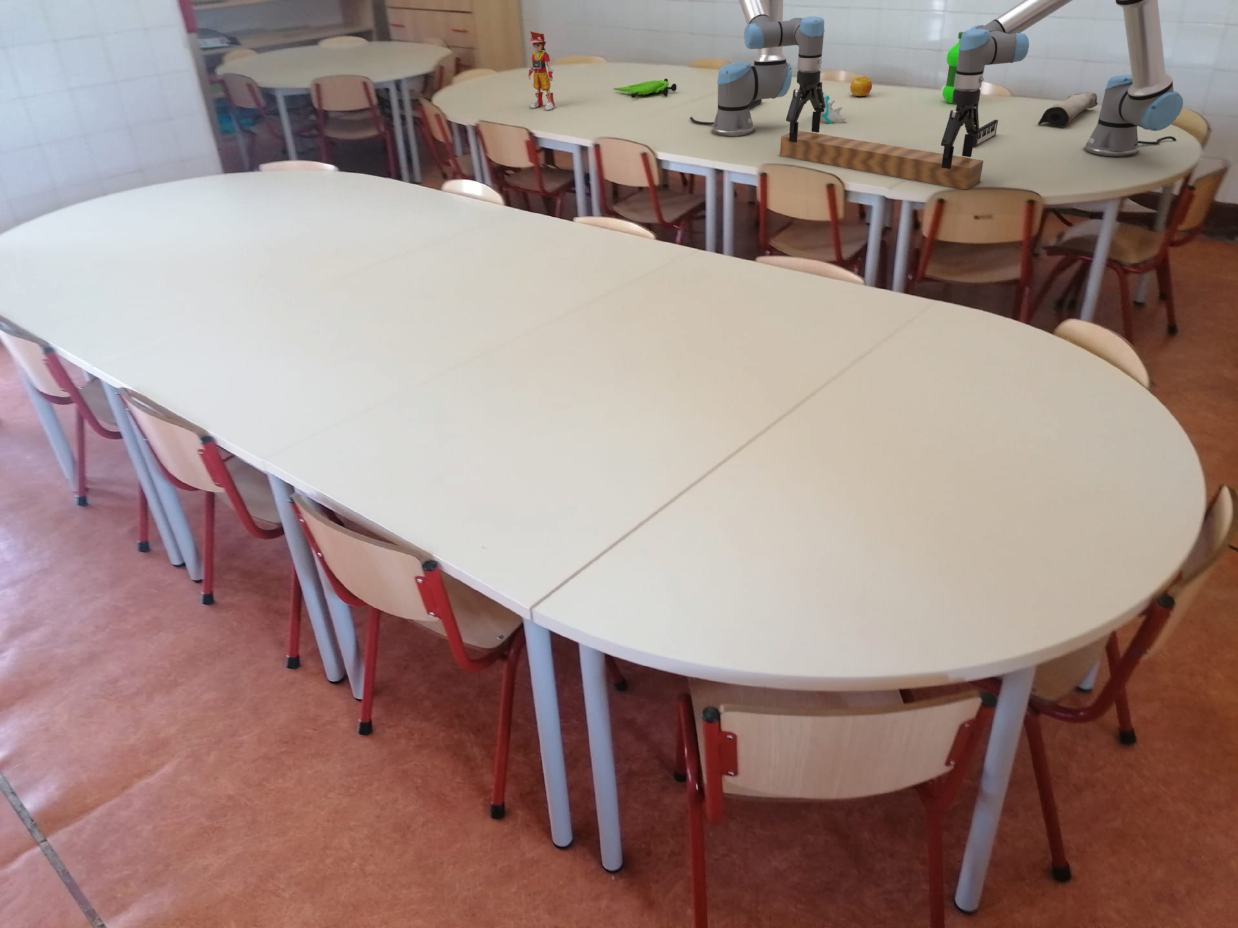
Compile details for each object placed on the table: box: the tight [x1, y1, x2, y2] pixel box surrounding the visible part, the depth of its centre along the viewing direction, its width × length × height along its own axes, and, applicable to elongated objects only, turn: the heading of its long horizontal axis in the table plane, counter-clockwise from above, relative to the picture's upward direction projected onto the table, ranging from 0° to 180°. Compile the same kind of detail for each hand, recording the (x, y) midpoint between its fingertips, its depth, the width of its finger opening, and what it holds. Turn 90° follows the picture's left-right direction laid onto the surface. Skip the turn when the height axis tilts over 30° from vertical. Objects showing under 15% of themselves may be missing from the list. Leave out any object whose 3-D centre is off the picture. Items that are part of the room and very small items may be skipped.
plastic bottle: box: [942, 31, 964, 104], centre depth 348 cm, size 10×10×25 cm
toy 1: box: [527, 31, 556, 111], centre depth 374 cm, size 12×9×30 cm
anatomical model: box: [821, 91, 847, 124], centre depth 342 cm, size 15×10×10 cm
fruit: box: [849, 76, 873, 97], centre depth 369 cm, size 8×8×8 cm
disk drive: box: [749, 99, 763, 110], centre depth 366 cm, size 10×3×15 cm
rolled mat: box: [1037, 91, 1098, 128], centre depth 327 cm, size 30×9×10 cm
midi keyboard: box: [973, 119, 999, 148], centre depth 308 cm, size 18×1×5 cm, turn 138°
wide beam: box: [779, 130, 985, 190], centre depth 290 cm, size 67×9×6 cm, turn 47°
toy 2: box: [612, 78, 677, 99], centre depth 396 cm, size 28×5×30 cm
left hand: (804, 137), depth 304 cm, fingers open, 13 cm apart
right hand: (956, 162), depth 273 cm, fingers open, 13 cm apart
